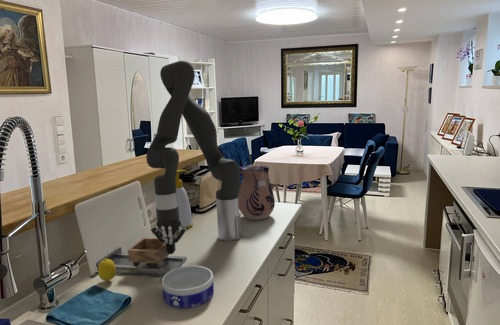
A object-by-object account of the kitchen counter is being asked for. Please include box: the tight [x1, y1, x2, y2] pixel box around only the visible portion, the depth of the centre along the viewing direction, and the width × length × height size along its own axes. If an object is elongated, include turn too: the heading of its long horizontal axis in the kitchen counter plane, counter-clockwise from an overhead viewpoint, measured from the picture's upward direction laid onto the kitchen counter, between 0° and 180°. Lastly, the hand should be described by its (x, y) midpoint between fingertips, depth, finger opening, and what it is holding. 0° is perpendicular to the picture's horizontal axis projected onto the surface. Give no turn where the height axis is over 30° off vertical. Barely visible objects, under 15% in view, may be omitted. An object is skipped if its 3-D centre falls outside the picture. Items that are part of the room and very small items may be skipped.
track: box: [95, 246, 187, 278], centre depth 133 cm, size 28×14×3 cm, turn 78°
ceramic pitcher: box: [238, 163, 275, 221], centre depth 178 cm, size 18×21×25 cm
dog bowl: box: [161, 265, 215, 310], centre depth 112 cm, size 15×15×6 cm
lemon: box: [97, 259, 117, 282], centre depth 123 cm, size 6×6×8 cm
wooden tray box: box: [127, 237, 170, 268], centre depth 132 cm, size 11×11×6 cm
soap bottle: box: [175, 169, 194, 231], centre depth 170 cm, size 11×12×26 cm
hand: (171, 253), depth 130 cm, fingers closed
